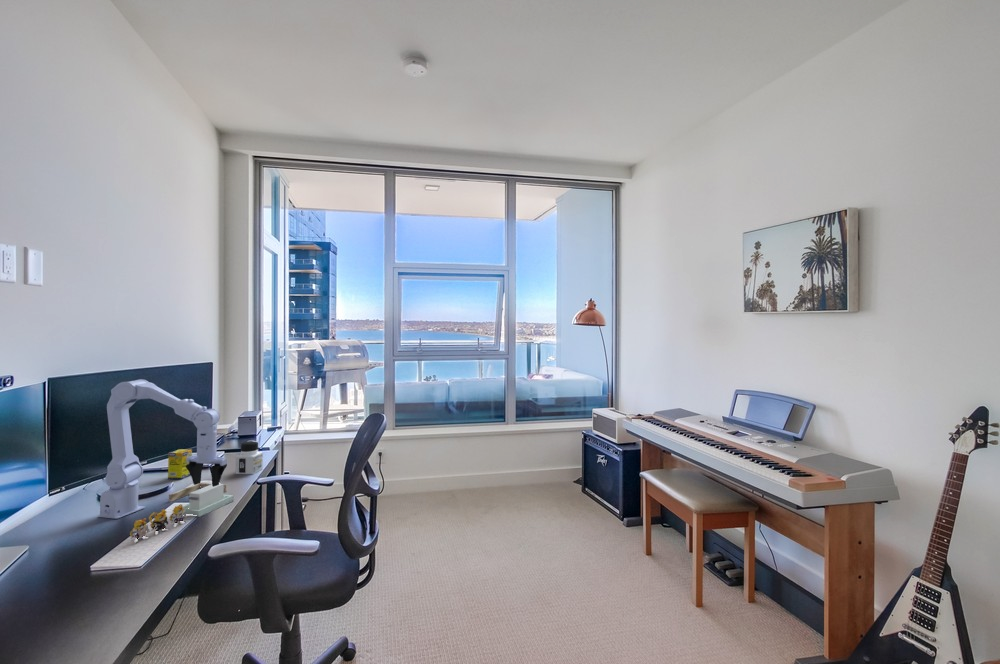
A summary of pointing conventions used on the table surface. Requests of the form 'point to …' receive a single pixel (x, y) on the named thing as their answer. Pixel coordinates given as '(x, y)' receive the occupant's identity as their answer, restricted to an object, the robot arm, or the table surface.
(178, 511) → the figurine set
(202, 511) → the tray
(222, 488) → the white rectangular brick
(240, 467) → the container
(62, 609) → the table surface
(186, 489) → the oak bay
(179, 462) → the supplement box
